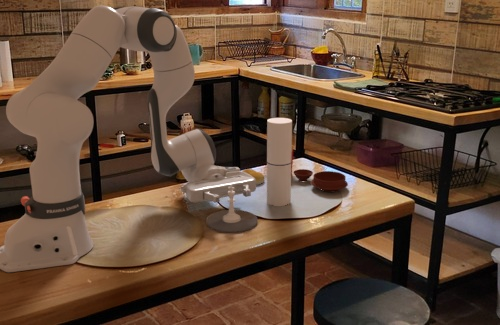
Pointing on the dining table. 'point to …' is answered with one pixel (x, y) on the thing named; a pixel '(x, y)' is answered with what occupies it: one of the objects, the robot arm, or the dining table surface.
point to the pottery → (323, 179)
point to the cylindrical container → (279, 161)
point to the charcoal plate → (219, 225)
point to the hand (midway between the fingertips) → (233, 196)
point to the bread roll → (255, 175)
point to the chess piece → (231, 209)
